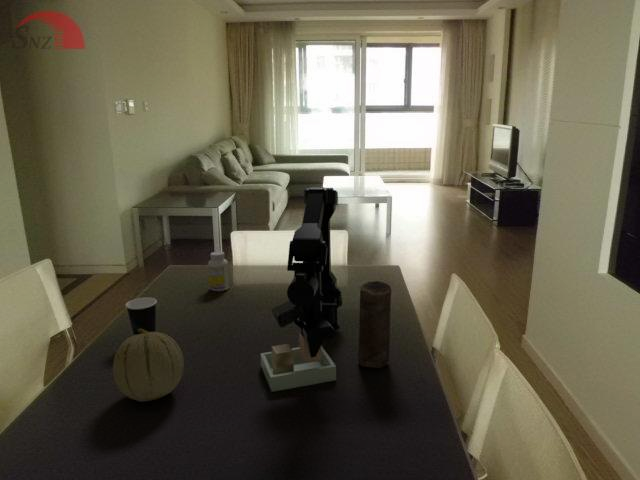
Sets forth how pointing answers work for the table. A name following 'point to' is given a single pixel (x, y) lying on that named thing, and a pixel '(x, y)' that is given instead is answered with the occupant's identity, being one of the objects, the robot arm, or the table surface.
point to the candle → (374, 324)
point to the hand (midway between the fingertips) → (310, 352)
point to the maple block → (282, 359)
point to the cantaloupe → (148, 366)
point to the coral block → (307, 350)
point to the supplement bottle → (218, 272)
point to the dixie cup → (142, 314)
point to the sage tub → (299, 371)
